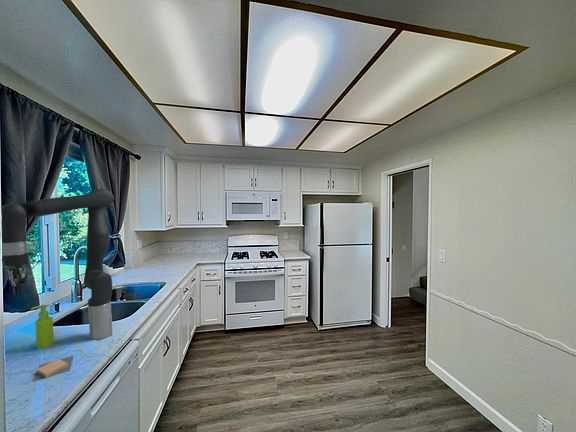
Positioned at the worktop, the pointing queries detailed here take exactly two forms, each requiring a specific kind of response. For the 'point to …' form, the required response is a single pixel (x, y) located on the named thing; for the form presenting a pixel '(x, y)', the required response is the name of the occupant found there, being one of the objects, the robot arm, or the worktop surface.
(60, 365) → the tile
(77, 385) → the worktop surface
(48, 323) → the soap dispenser
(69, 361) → the mat
